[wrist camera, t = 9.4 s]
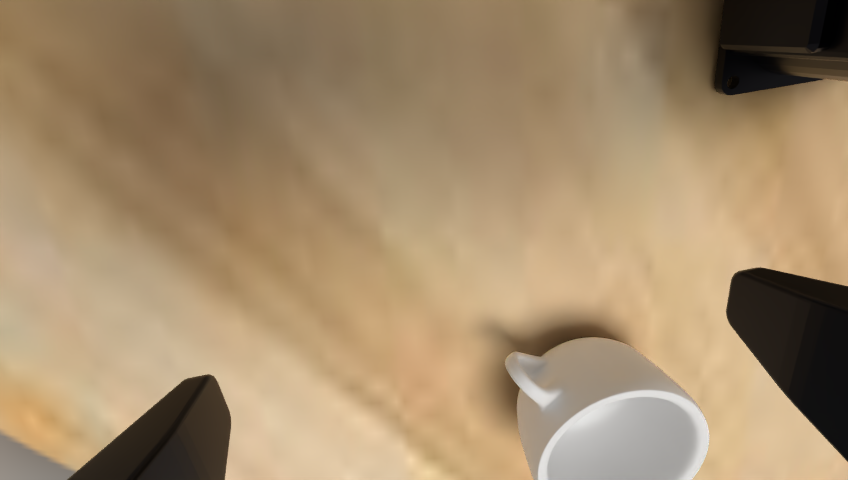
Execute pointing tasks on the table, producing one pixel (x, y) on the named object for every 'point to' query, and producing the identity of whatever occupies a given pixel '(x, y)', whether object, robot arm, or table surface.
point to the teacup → (605, 415)
